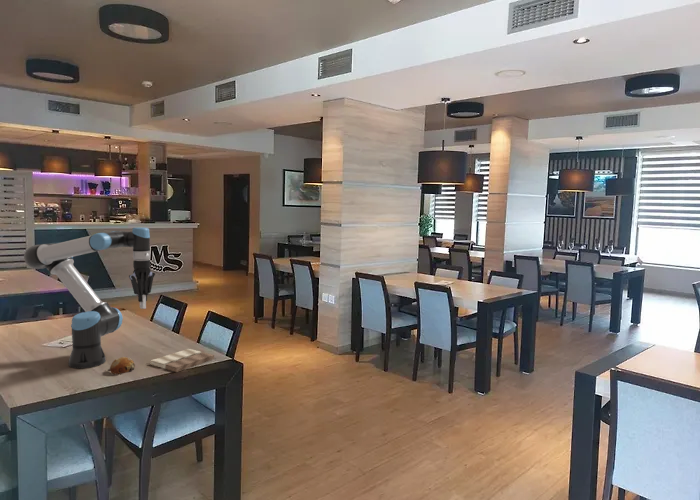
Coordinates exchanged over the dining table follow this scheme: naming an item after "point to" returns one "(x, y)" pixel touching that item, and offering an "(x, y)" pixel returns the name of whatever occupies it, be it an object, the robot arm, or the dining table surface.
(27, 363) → the dining table surface
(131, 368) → the bread roll
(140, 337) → the dining table surface
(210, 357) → the walnut plank
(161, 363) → the cream corrugated panel
